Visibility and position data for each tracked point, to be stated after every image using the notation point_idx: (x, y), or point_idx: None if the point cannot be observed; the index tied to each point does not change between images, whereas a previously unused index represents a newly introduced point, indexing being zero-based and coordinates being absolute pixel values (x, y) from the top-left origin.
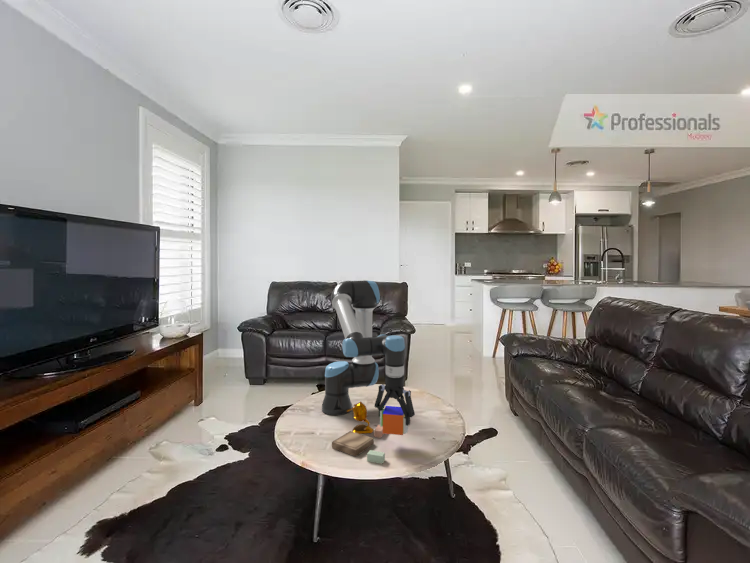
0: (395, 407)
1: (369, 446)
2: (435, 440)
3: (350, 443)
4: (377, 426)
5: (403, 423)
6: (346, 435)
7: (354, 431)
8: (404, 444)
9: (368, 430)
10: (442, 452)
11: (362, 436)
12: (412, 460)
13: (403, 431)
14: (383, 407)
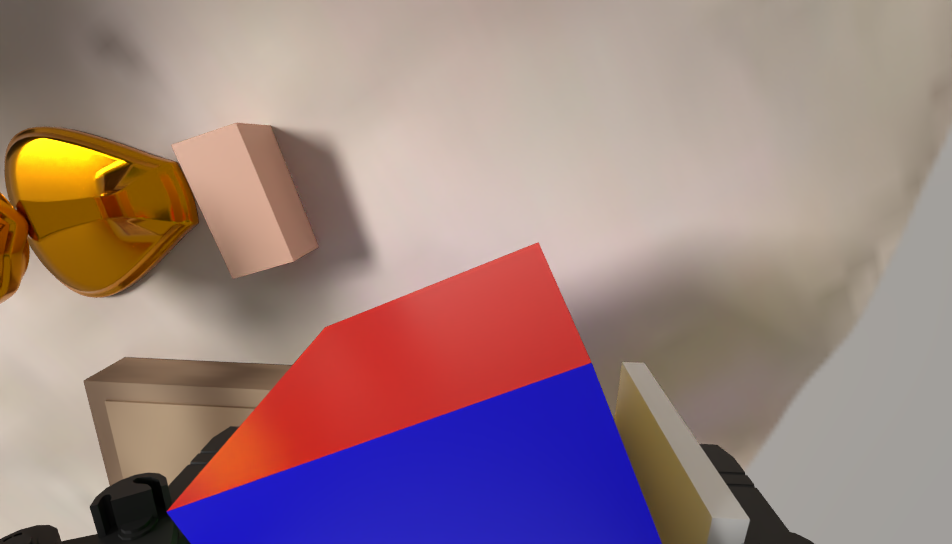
0: (397, 483)
1: None
2: (778, 8)
3: None
4: (194, 187)
5: (658, 526)
6: (127, 460)
7: (84, 291)
8: (543, 246)
9: (161, 230)
10: (892, 201)
11: (232, 417)
12: (696, 422)
13: (624, 444)
14: (175, 541)
